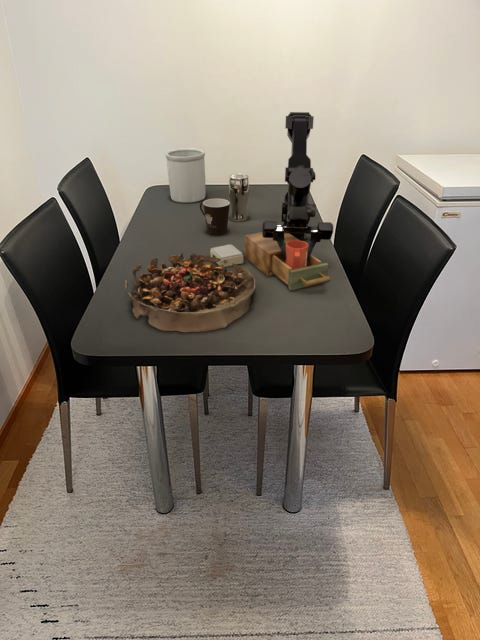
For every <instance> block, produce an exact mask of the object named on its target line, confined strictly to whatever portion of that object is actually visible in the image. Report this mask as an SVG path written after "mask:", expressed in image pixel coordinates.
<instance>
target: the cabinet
mask: <svg viewBox="0 0 480 640" xmlns="http://www.w3.org/2000/svg"><path fill="white" fill-rule="evenodd" d="M284 239H285V249H286V243H287V242H289V241H292V240H298V239H297V238H295V237H294V236H292V235H291V234H289V233H284ZM279 253H282V252H281V249H280V247H279V245H278V243H277V241H273V238H264V237H263V235H262V231H261V232H255V233H251V234H245V235H244V258H246V260H248V261H249V262H250V263H251V264H252V265H254V266H255V267H256V268H257V269H258V270H260V271H261V272H262V273H263V274H264V275H265V276H267V277H271V276H276V275H275V274H274V273H273V272H271V271H270V261H271V255H274V254H279Z"/></svg>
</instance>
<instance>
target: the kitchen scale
mask: <svg viewBox="0 0 480 640" xmlns="http://www.w3.org/2000/svg"><path fill="white" fill-rule="evenodd" d="M209 250H210V251H209V252H210V253H209V254H210V256H209V257H215V258H220V259H221V260H220V261H218V262H215V264H217V265H218V266H220V267H221V266H222V265H223V266H224V268H227V267H231V266H233V264H236V265H239V264H244V254H243V252H241V250H239V249H238V248H236V246H234V245H233V244H231V243H229V244H226V245H225V244H224V245H219V246H215V247H211V248H210V249H209ZM224 260H227V261H228V262H227V263H224V262H223V261H224ZM232 263H233V264H232Z"/></svg>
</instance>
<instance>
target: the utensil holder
mask: <svg viewBox="0 0 480 640" xmlns="http://www.w3.org/2000/svg"><path fill="white" fill-rule="evenodd" d="M205 156H206V152H205V150H204V149H201V148H198V147H179V148H173V149H169V150H167V151H166V152H165V158H166V165H167V166H166V167H167V175H168V185H169V194H170V199H171V200H172V201H173V202H176V203H182V204H183V203H184V204H187V203H188V204H189V203H196V202H202V201H203V200H205V198H206V196H207V195H206V162H205Z"/></svg>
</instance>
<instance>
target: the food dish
mask: <svg viewBox="0 0 480 640" xmlns="http://www.w3.org/2000/svg"><path fill="white" fill-rule="evenodd" d="M167 260H168V262H170V263H171V266H167V265H166V263H164V262H162V263H161V266H160V268H158V262H159V259H158V258H153V259H151V260H150V263H149V266H147V271H148V273H141V274H140V276H139V279H137V272H140V270H141V269H142V268H143V264H141V263H140V264H138V265H136V266H134V268H133V269H132V271H131V272H132V273H131V274H132V276H133V278H134V281H135V284H134V287H133V288H134V290H133V293H134V295H132V293H131V292H129V291H128V289H129V288H128V287H129V283H128V280H127V279H125V280H124V284H125V285H124V286H125V290H126V291H127V294H128V296H129V297H130V298H131V301H132V306H133V308H132V309H131V311H132V313H133V317H135V319H137V320H138V319H139V318H140V316H147V317H148V320H147V322H148V325H150V326H151V327H153V328H156V329H158V330H160V331H164V332H175V331H176V332H179V333H191V332H192V333H193V332H197V333H198V332H209V331H214V330H219V329H224V328H226V327H227V326H228V325H229V324H231V323H233V322H234V321H236V320H238V319H239V318H241V317H242V316H243V315H245V314H246V313H247V312H248V311H249V310H250V304H251V303H252V296H253V294H254V292H255V290H256V288H257V287H256V284H257V282H256V279H255V277H254V275H253V274H252V272H251V271H250V270H248V269H246V268H245V267H244V266H240V265H239V264H233V263H232V264H233V265H232V266H233V267H232V268H233V270H235V271H236V273H235V272H234V271H230V270H229V271H228V270H227V268H226V267H224V266H223V265H222V266H221V267H220V266H219V265H218V264H217V265H215V266H213V265H212V264H214V263H215V264H216V262H218V261H220V260H221V259H220V258H215V257H211V256H208V255H202V254H201V255H200V254H197V253H191V254H190V256H189V258H187V259H186V258H185V257H184V253H183V252H180V254H179V255H176V254H175V255H169V256H168V257H167ZM206 262H209V263H206ZM223 262H224V263H227V262H228V261H227V260H224V261H223ZM210 263H212V264H210Z"/></svg>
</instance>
